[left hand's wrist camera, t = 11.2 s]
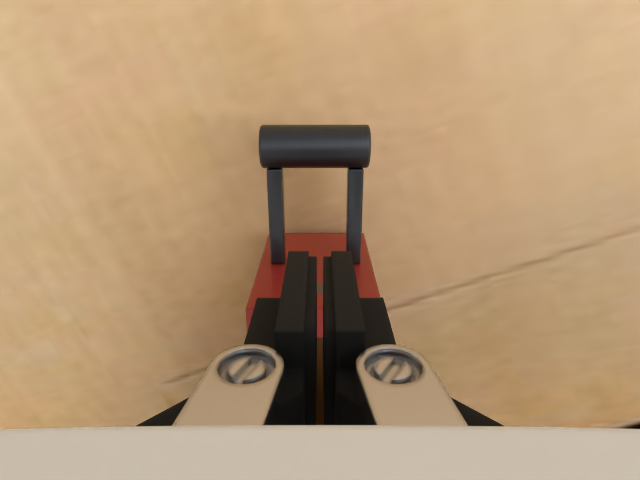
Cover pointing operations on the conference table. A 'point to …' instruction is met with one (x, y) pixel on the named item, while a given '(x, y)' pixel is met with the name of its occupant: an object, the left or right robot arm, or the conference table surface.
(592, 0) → the conference table surface
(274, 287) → the drawer
